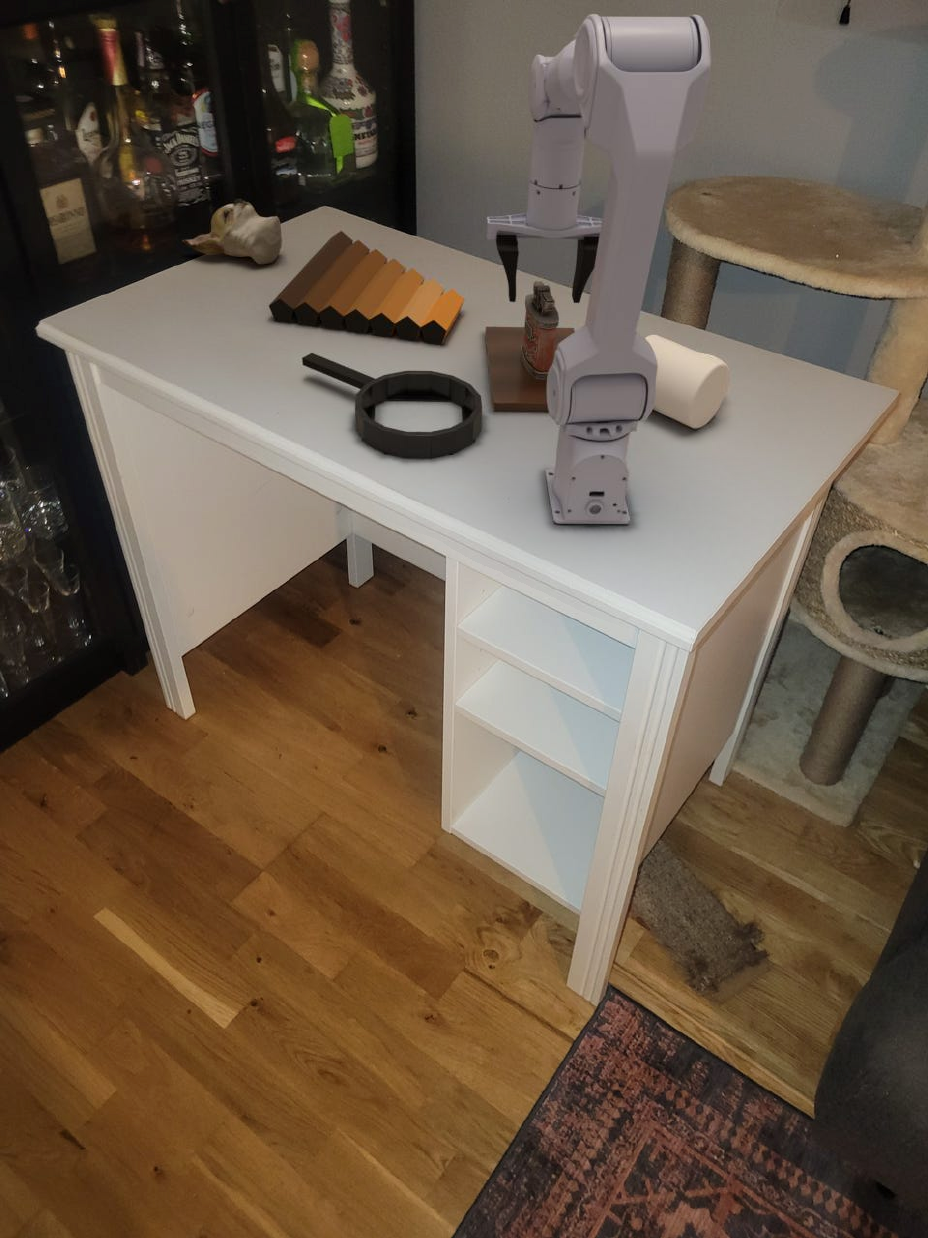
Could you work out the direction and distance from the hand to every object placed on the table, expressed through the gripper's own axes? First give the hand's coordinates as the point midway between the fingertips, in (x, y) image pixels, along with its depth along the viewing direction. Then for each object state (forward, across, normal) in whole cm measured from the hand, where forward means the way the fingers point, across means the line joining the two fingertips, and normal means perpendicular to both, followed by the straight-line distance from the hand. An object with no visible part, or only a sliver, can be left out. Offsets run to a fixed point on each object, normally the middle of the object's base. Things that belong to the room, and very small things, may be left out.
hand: (543, 298), depth 114 cm
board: (+10, 0, -1) cm, 10 cm away
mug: (+11, -17, +7) cm, 21 cm away
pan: (+10, +19, +10) cm, 23 cm away
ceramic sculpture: (+10, +42, -36) cm, 57 cm away
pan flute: (+10, +20, -23) cm, 32 cm away
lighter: (+9, 0, -1) cm, 9 cm away
